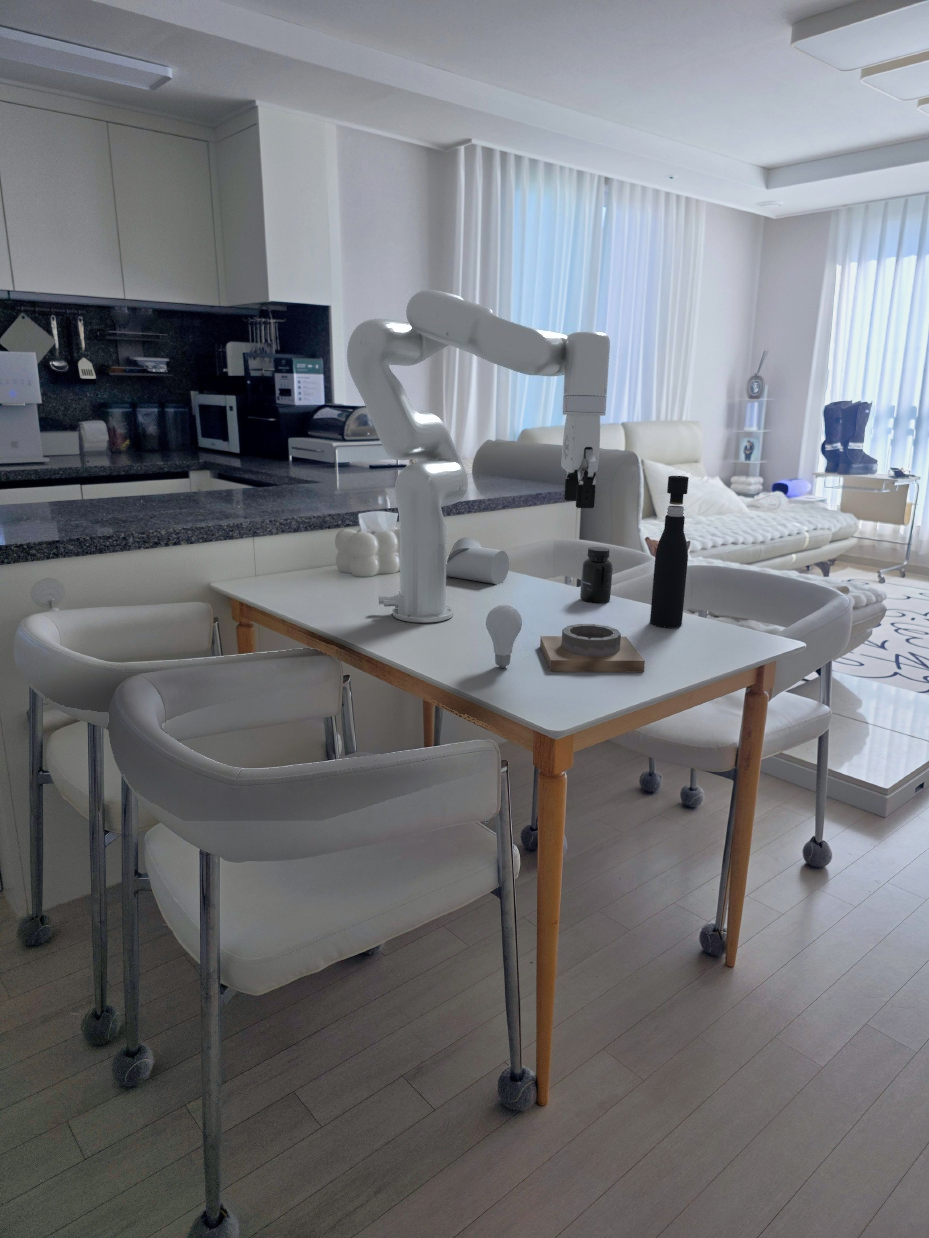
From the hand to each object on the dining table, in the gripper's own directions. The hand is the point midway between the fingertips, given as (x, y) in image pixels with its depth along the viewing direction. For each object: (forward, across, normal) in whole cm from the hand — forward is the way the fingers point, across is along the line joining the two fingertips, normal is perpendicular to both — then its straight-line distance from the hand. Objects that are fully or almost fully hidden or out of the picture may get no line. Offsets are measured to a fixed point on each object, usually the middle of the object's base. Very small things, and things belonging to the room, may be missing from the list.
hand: (578, 504), depth 149 cm
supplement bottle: (+26, -31, +12) cm, 43 cm away
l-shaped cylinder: (+27, -57, -13) cm, 64 cm away
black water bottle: (+26, -12, +22) cm, 37 cm away
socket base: (+26, +10, +1) cm, 28 cm away
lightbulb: (+26, +14, -15) cm, 33 cm away
